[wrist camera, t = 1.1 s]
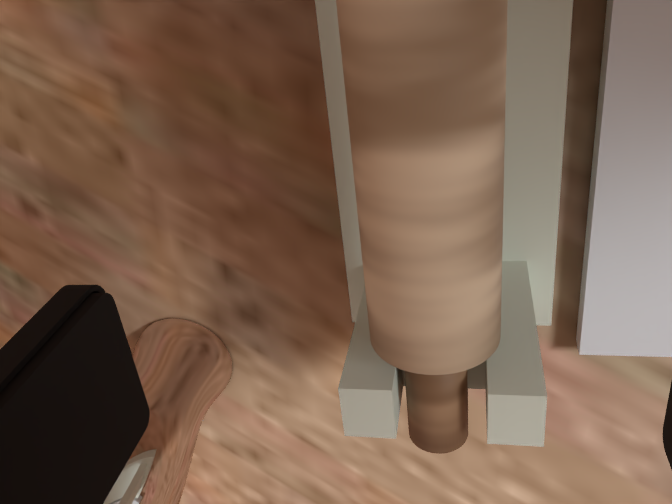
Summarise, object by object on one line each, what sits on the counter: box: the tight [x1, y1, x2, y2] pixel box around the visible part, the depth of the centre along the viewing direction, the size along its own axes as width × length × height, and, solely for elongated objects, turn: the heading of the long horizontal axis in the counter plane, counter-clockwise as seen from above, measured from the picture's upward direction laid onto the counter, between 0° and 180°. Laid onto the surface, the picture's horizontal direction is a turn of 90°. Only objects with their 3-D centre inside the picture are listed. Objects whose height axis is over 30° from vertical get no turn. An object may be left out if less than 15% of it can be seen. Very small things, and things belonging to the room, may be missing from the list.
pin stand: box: [315, 0, 573, 447], centre depth 23 cm, size 10×26×11 cm, turn 6°
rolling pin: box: [336, 0, 508, 453], centre depth 20 cm, size 26×5×5 cm, turn 6°
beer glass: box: [103, 318, 233, 504], centre depth 33 cm, size 7×7×15 cm
